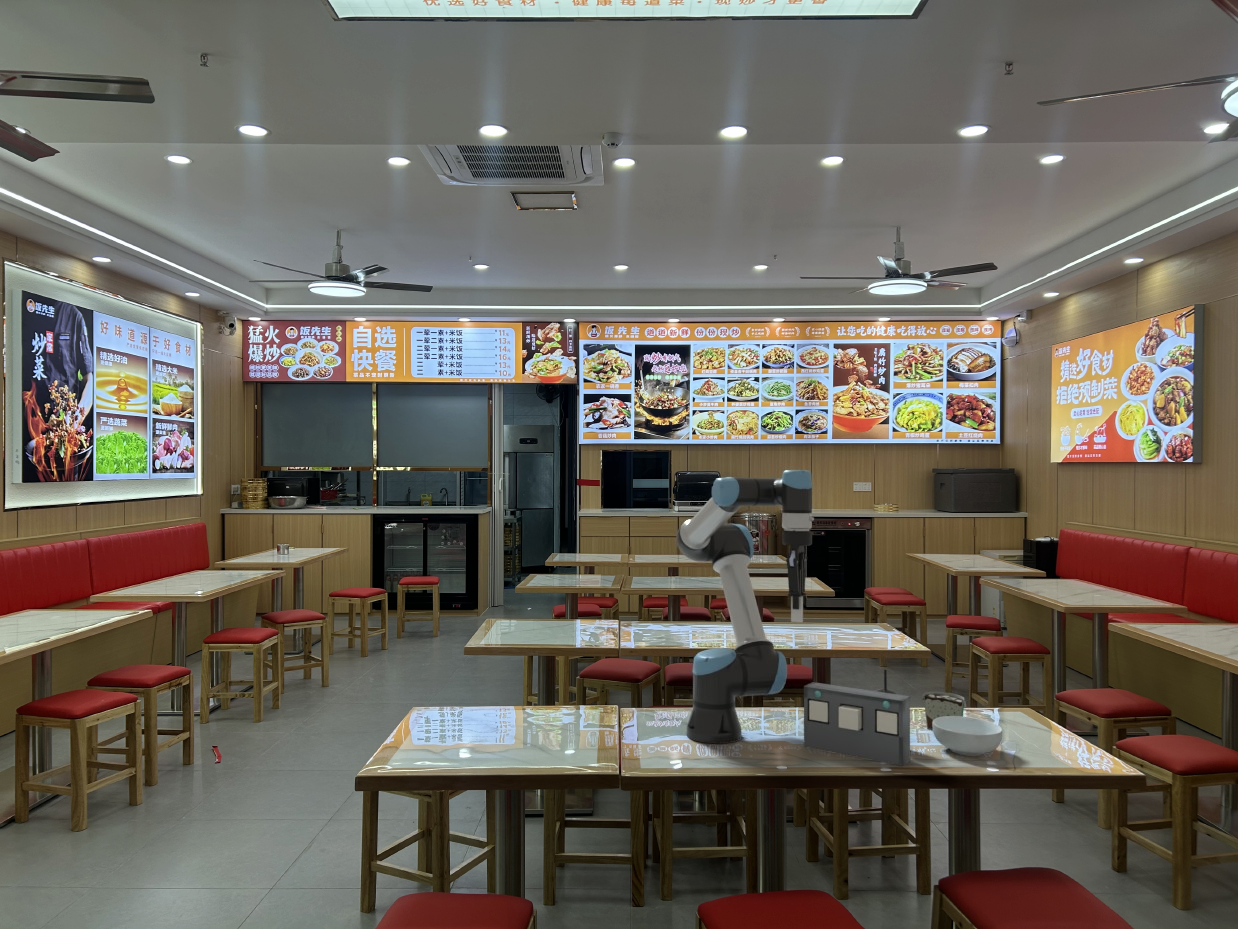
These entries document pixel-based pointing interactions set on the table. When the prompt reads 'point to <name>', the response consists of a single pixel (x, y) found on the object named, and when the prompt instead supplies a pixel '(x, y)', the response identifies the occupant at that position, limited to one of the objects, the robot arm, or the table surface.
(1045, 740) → the table surface
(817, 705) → the key left
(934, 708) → the mint chip dessert
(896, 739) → the keypad
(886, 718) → the key right
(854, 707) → the key middle
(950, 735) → the cereal bowl
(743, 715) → the table surface
